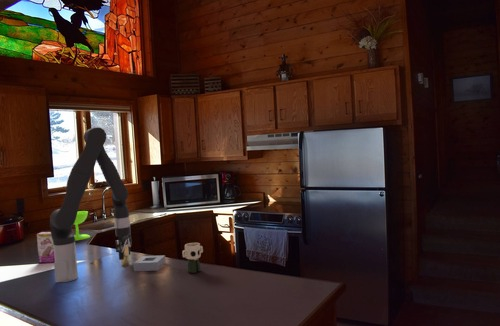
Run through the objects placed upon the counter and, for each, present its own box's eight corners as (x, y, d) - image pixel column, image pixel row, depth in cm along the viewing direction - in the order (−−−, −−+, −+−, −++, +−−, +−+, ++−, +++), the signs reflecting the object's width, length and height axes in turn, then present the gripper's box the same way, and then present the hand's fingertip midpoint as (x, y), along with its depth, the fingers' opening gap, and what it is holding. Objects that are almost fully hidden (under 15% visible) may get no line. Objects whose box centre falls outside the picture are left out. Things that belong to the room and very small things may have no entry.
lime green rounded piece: (60, 240, 277) (58, 215, 276) (76, 235, 293) (74, 211, 292) (79, 241, 273) (77, 215, 272) (94, 235, 288) (92, 211, 287)
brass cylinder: (127, 266, 203) (126, 246, 202) (120, 266, 203) (118, 247, 203) (130, 263, 207) (129, 244, 206) (123, 264, 207) (122, 245, 207)
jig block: (157, 270, 192) (157, 262, 192) (134, 271, 193) (133, 263, 193) (165, 263, 204) (165, 255, 204) (143, 263, 205) (142, 256, 205)
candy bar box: (38, 263, 220) (35, 234, 220) (43, 260, 225) (41, 232, 225) (57, 262, 219) (54, 233, 218) (62, 260, 224) (60, 231, 223)
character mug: (188, 276, 180) (186, 248, 179) (180, 273, 185) (178, 245, 185) (208, 270, 187) (206, 243, 186) (200, 267, 192) (198, 240, 192)
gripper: (123, 228, 197) (126, 261, 197) (134, 223, 211) (137, 253, 212) (109, 229, 198) (111, 261, 198) (121, 223, 212) (123, 253, 212)
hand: (125, 257), depth 205 cm, fingers open, 8 cm apart
